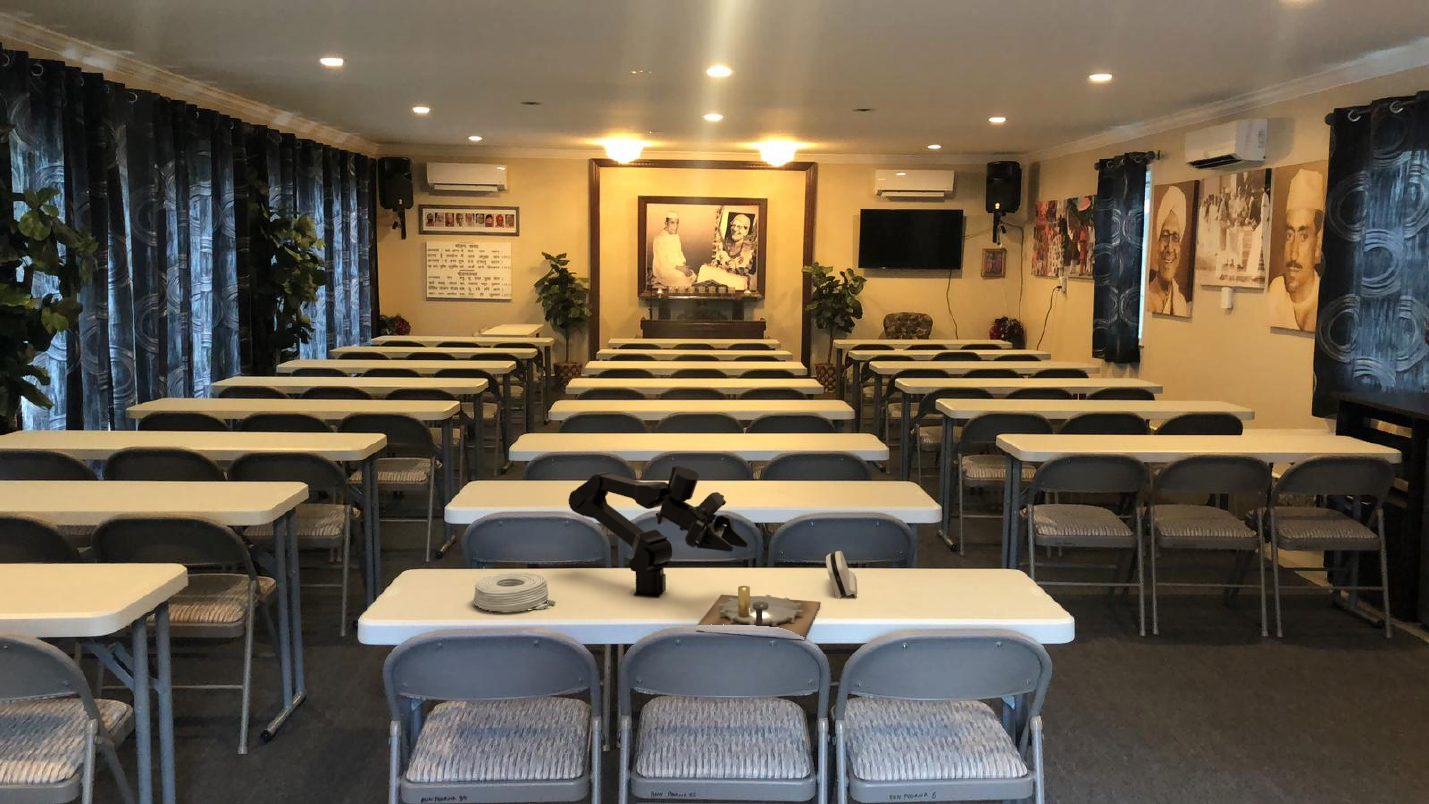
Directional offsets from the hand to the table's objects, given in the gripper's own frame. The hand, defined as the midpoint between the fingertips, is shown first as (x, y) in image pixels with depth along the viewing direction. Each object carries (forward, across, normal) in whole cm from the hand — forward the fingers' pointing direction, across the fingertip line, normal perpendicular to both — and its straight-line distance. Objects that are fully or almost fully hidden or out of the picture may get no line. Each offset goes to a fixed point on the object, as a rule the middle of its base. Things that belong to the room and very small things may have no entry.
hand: (740, 547), depth 246 cm
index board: (+12, -1, +12) cm, 17 cm away
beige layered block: (+20, +27, +4) cm, 34 cm away
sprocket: (+11, -2, +10) cm, 15 cm away
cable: (-41, -14, +36) cm, 57 cm away
